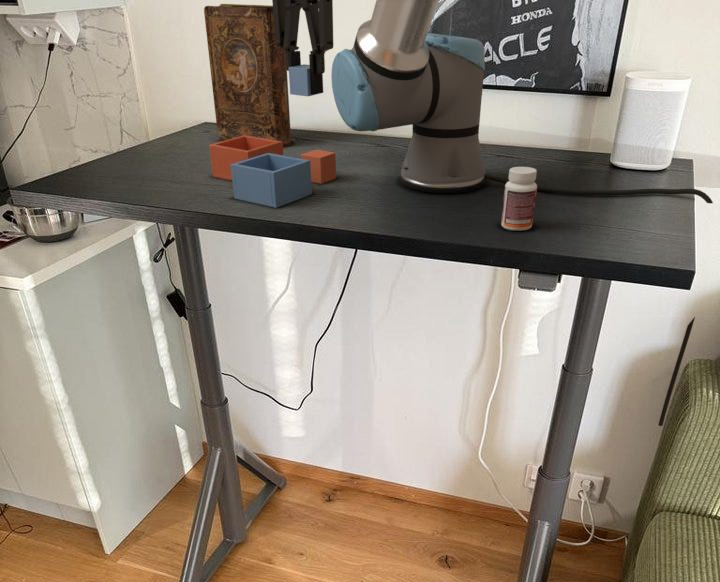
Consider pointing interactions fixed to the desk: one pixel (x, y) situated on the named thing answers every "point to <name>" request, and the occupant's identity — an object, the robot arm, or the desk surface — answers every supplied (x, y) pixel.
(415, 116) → the robot arm
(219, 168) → the clay bin
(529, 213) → the pill bottle
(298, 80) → the blue block
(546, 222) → the desk surface
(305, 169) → the blue bin
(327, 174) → the clay block
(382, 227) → the desk surface
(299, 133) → the desk surface
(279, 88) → the book
